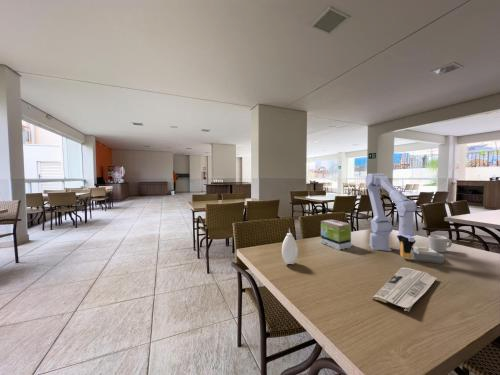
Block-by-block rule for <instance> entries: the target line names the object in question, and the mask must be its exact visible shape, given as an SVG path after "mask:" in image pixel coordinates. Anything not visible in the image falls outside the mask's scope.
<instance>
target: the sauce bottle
mask: <svg viewBox="0 0 500 375" xmlns="http://www.w3.org/2000/svg"><path fill="white" fill-rule="evenodd" d="M298 254H299V249H298V244H297V241H296V239H295V237H294V236H293V233H291V229H290V228H288V232H287V233H286V236H285V238H284V240H283V242H282V245H281V256H282V260H283V262H284V263H285V264H286V265H288V264H292V265H294V264H295V263H296V262H297V260H298V256H299V255H298Z"/></svg>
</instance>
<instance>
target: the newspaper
mask: <svg viewBox="0 0 500 375" xmlns="http://www.w3.org/2000/svg"><path fill="white" fill-rule="evenodd" d="M436 280H437V277H434V276H433V275H430V273H428V272H426V271H422V270H418V269H415V268H414V269H413V268H409V267H403V266H402V267H400V268H399V269H398V270H397V272H396V273H395V274H393V276H391V278H389V280H388V281H387V282H386V283H385V284H384V285H383V286H382V287H381V288H380V289H379V290H378V291H377V292H376V293H375V294H374V295H373V296H372V298H373V297H374V298H376V297H378V298H381V299H384V300H387V301H388V303H391V304H393V305H395V306H397V307H398V306H399V307H401V308H403V309H404V308H406V309H407V310H408V312H407V313H409V312H410V311H411V309H412V307H413V306H414V304H415V303H416V302H418V300H419V299H420V298H421V297H422V296H423V295H425V294H426V292H427V291H428V290H429V289H430V287H432V285H433V283H434V282H435V281H436ZM407 310H406V311H407Z"/></svg>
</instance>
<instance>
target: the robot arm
mask: <svg viewBox="0 0 500 375" xmlns="http://www.w3.org/2000/svg"><path fill="white" fill-rule="evenodd" d="M364 180H365V184H366V188H367V191H368V196H369V200H370V204H371V208H372V213H373V217H372V219H371V220H370V229H371V231H372V232H370V233H369V247H370V248H371V249H372V250H373V251H384V252H385V251H386V252H387V251H388V252H392V249H391V248H390V235H391V233H392V232H393V230H394V229H393V228H394V227H393V226H394V225H393V224H392V223H391V220H390V218H389V217H387V216H386V215H385V211H384V208H383V203H382V200H381V195H380V191H379V190H380V189H381V188H383V189H384V190H385V191H387V193H388V196H389V197H388V198H390V199H391V201H392V202H394V204H395V205H396V206H395V207H396V208H395V209H396V210H397V213H398V233H397V234H398V235H396V238H397V239H398V241H399V243H400V241H402V243H403V247H404V252H405V253H410V252H411V249H412V247H414V245H415V243H416V240H415V237H416V236H417V234H416V233H414V217H415V216H414V212H416V211H417V209H418V205H417V203H416V202H415V201H414V200H411V199H409V198H408V197H406V196H405V194H404V193H403V192H402V191H401V190H399V189H396V188H395V187H394V185H393V184H392V183H391V182H390V180H389V176H388V175H387V174H386V173H384V172H382V173H367V175H366V176H365V179H364Z"/></svg>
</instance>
